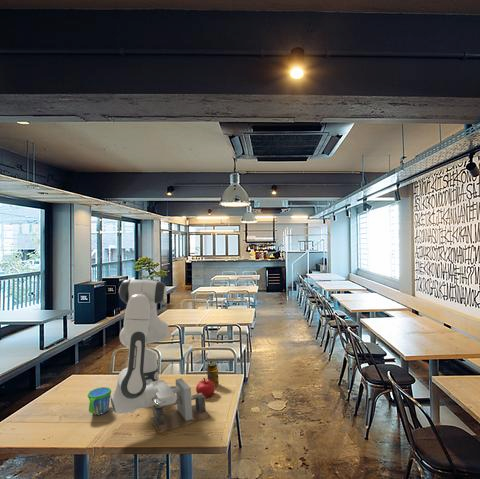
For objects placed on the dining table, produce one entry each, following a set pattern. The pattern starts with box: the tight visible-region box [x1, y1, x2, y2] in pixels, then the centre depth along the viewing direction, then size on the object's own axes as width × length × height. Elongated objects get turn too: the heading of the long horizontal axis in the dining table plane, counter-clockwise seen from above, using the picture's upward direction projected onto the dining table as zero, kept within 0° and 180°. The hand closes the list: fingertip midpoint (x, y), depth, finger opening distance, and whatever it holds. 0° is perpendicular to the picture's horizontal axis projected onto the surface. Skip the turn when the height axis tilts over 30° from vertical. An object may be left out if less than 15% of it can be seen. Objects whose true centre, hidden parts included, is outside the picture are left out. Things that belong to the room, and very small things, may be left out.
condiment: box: [206, 362, 222, 389], centre depth 198 cm, size 7×8×12 cm
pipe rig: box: [150, 393, 211, 434], centre depth 164 cm, size 24×14×9 cm, turn 118°
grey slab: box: [175, 377, 193, 421], centre depth 165 cm, size 3×13×14 cm, turn 28°
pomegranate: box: [195, 377, 216, 398], centre depth 187 cm, size 10×10×9 cm
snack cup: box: [87, 386, 112, 415], centre depth 174 cm, size 16×10×10 cm
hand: (179, 388), depth 164 cm, fingers closed, pressing on grey slab
